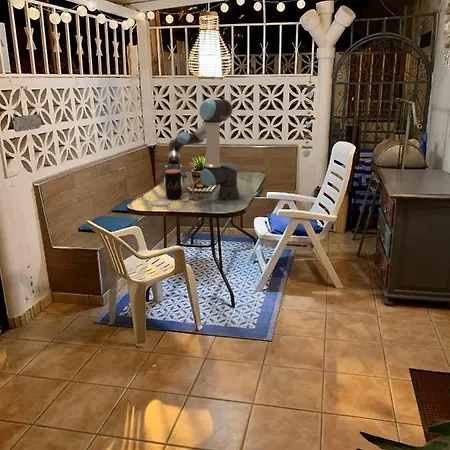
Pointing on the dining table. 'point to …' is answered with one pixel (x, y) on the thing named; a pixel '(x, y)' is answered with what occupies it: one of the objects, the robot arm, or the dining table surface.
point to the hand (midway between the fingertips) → (173, 186)
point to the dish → (160, 202)
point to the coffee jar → (173, 183)
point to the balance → (186, 190)
